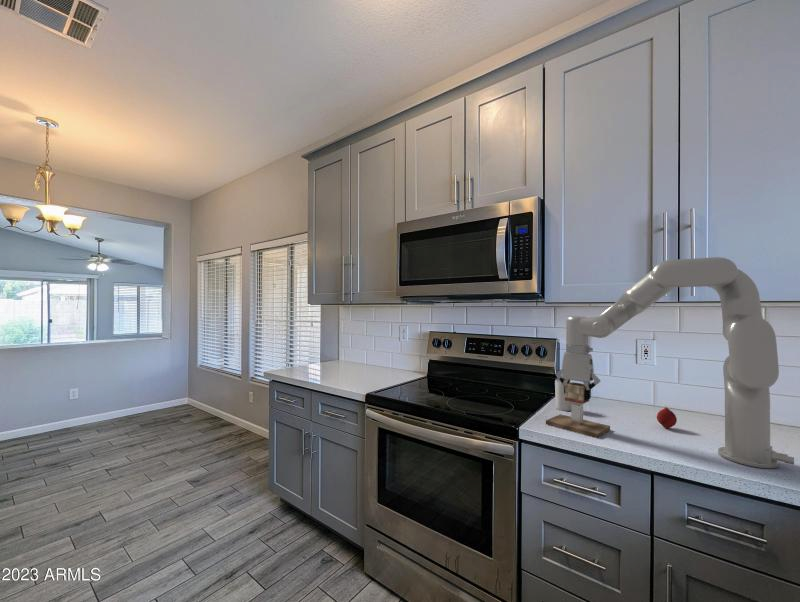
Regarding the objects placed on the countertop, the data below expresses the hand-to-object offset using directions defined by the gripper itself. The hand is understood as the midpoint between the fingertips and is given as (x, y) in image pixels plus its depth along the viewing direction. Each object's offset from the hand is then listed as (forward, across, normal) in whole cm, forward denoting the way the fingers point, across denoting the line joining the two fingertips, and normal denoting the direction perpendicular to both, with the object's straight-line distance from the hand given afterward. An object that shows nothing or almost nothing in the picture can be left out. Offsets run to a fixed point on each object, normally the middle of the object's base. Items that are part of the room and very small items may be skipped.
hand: (577, 397), depth 130 cm
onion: (+11, -22, -24) cm, 34 cm away
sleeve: (+1, 0, 0) cm, 1 cm away
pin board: (+11, 0, 0) cm, 11 cm away
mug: (+11, +12, -20) cm, 26 cm away
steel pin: (+9, 0, 0) cm, 9 cm away
